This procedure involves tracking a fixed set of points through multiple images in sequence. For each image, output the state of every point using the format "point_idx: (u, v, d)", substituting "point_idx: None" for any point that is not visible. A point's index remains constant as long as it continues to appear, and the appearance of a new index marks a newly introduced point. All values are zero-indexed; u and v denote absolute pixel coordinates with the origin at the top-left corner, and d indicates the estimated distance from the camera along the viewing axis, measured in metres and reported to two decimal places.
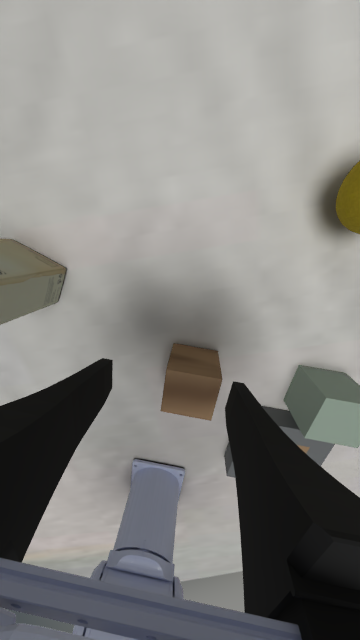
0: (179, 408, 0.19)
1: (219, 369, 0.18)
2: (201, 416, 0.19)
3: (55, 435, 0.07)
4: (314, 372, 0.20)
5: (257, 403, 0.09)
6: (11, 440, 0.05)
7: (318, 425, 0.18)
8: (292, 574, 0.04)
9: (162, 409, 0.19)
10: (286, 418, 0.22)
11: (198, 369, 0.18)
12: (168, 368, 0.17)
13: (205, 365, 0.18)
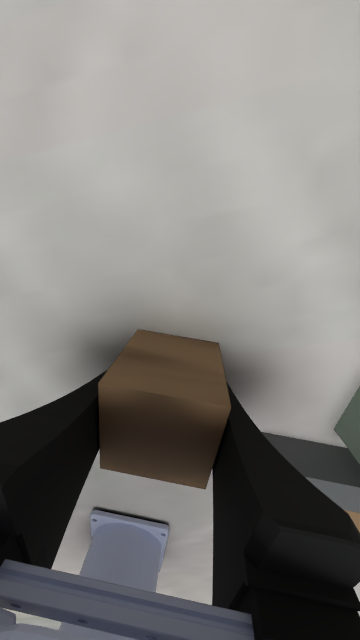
0: (137, 465, 0.09)
1: (223, 381, 0.08)
2: (185, 480, 0.09)
3: (82, 440, 0.07)
4: None
5: (235, 399, 0.09)
6: (47, 447, 0.05)
7: None
8: (247, 564, 0.04)
9: (103, 465, 0.09)
10: (341, 464, 0.12)
11: (176, 382, 0.08)
12: (104, 380, 0.07)
13: (193, 373, 0.09)
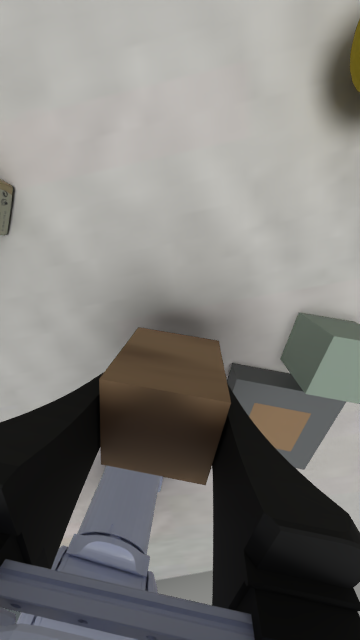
0: (137, 461, 0.09)
1: (223, 377, 0.08)
2: (185, 476, 0.09)
3: (82, 440, 0.07)
4: (317, 318, 0.16)
5: (235, 399, 0.09)
6: (47, 447, 0.05)
7: (323, 375, 0.14)
8: (247, 564, 0.04)
9: (104, 461, 0.09)
10: (283, 379, 0.19)
11: (176, 379, 0.08)
12: (105, 376, 0.07)
13: (193, 369, 0.09)
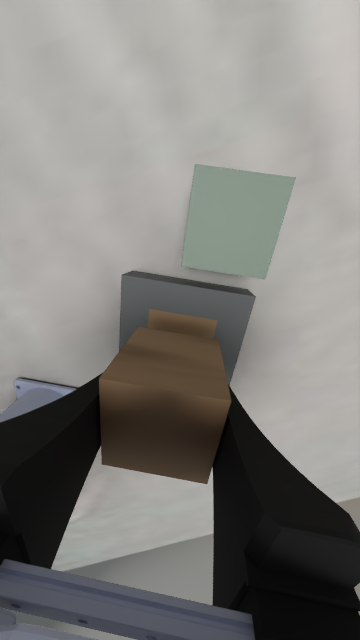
0: (138, 460, 0.09)
1: (223, 376, 0.08)
2: (186, 475, 0.09)
3: (81, 440, 0.07)
4: None
5: (235, 399, 0.09)
6: (47, 447, 0.05)
7: (195, 233, 0.11)
8: (248, 564, 0.04)
9: (105, 461, 0.09)
10: (186, 282, 0.15)
11: (176, 377, 0.08)
12: (105, 376, 0.07)
13: (193, 368, 0.09)
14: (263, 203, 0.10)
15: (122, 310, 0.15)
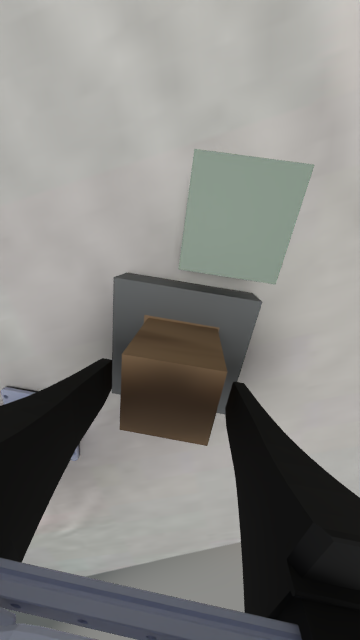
0: (150, 425, 0.11)
1: (221, 355, 0.10)
2: (190, 438, 0.11)
3: (55, 435, 0.07)
4: None
5: (257, 403, 0.09)
6: (11, 440, 0.05)
7: (196, 231, 0.09)
8: (292, 574, 0.04)
9: (122, 426, 0.11)
10: (185, 285, 0.14)
11: (183, 355, 0.10)
12: (126, 352, 0.09)
13: (196, 349, 0.10)
14: (275, 195, 0.08)
15: (115, 316, 0.14)
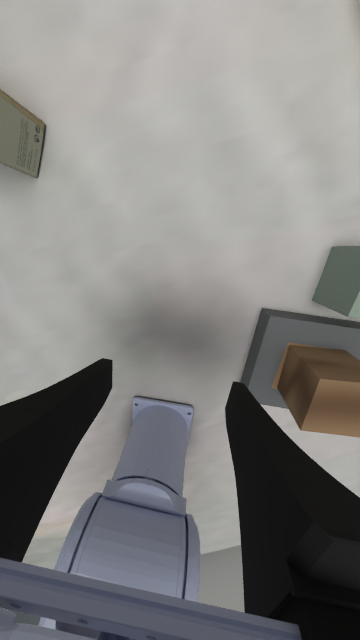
0: (326, 425, 0.15)
1: None
2: (355, 433, 0.15)
3: (55, 435, 0.07)
4: None
5: (257, 403, 0.09)
6: (11, 440, 0.05)
7: None
8: (292, 574, 0.04)
9: (303, 428, 0.15)
10: (316, 319, 0.18)
11: (355, 376, 0.14)
12: (321, 377, 0.14)
13: (356, 370, 0.15)
14: None
15: (263, 343, 0.18)
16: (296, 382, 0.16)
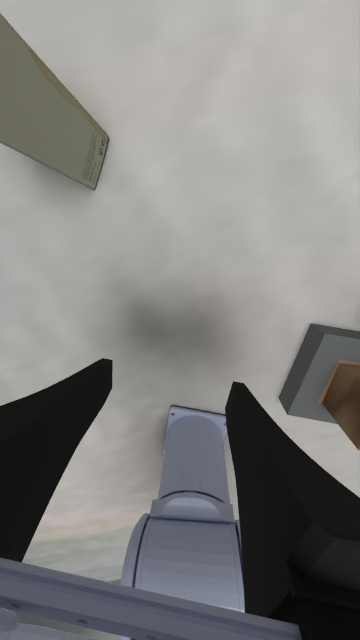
0: None
1: None
2: None
3: (55, 435, 0.07)
4: None
5: (257, 403, 0.09)
6: (11, 440, 0.05)
7: None
8: (292, 574, 0.04)
9: None
10: None
11: None
12: None
13: None
14: None
15: (314, 359, 0.19)
16: (351, 401, 0.17)
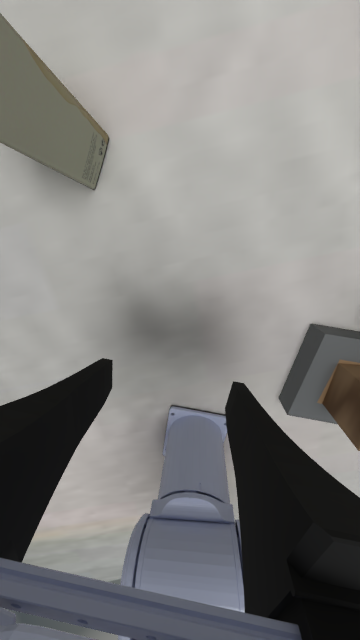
0: None
1: None
2: None
3: (55, 435, 0.07)
4: None
5: (257, 403, 0.09)
6: (11, 440, 0.05)
7: None
8: (292, 574, 0.04)
9: None
10: None
11: None
12: None
13: None
14: None
15: (315, 360, 0.18)
16: (350, 401, 0.17)
